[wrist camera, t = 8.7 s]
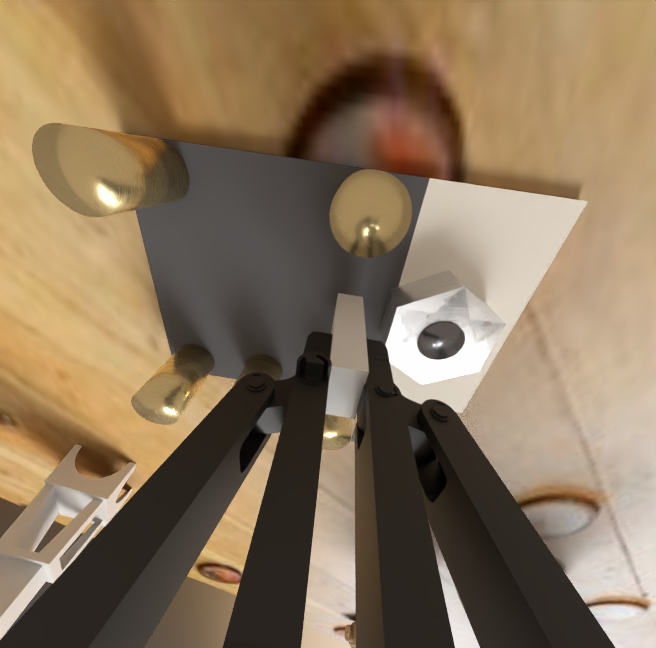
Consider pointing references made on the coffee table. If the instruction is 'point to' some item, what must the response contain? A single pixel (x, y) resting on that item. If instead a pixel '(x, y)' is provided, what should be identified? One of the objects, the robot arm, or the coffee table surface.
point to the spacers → (171, 186)
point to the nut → (438, 328)
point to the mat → (330, 257)
